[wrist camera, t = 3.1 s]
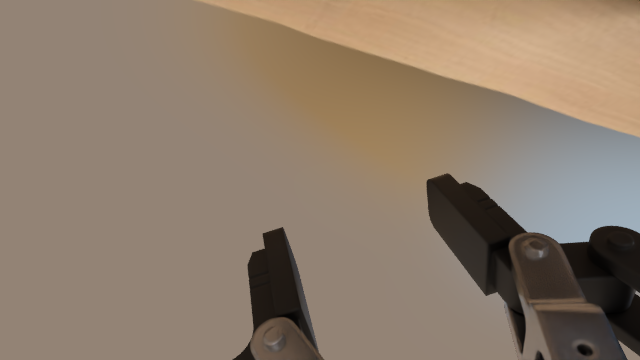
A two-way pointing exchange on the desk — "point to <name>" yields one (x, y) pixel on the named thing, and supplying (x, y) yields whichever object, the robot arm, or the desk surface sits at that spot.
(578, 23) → the desk surface
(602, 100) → the desk surface
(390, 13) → the desk surface
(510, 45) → the desk surface
